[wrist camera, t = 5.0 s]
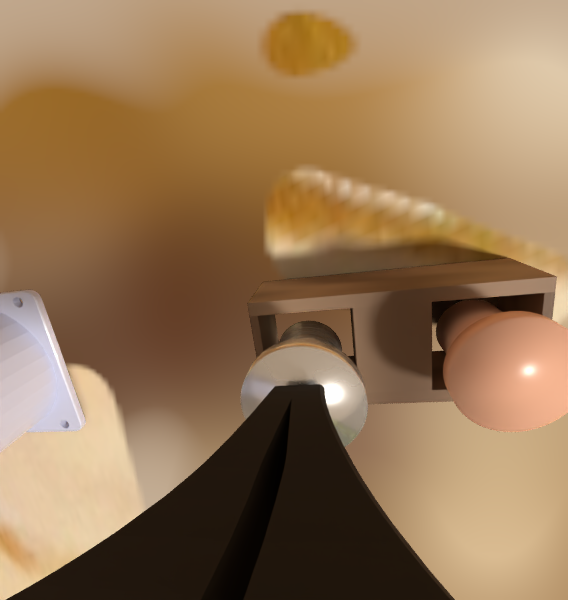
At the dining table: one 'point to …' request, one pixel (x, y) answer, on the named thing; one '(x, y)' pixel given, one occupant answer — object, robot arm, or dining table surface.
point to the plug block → (400, 316)
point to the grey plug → (311, 375)
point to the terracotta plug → (504, 365)
